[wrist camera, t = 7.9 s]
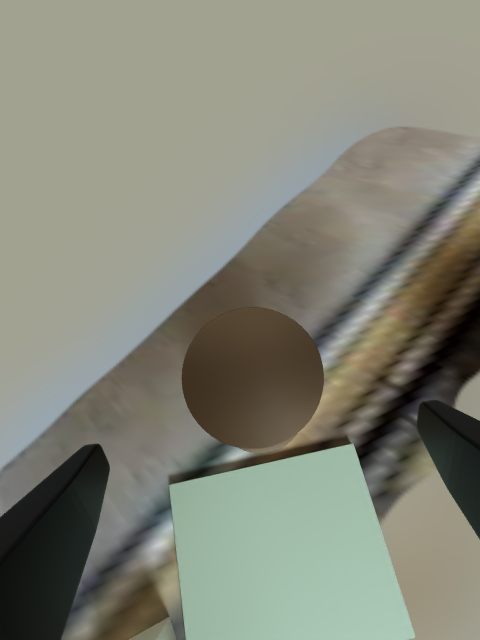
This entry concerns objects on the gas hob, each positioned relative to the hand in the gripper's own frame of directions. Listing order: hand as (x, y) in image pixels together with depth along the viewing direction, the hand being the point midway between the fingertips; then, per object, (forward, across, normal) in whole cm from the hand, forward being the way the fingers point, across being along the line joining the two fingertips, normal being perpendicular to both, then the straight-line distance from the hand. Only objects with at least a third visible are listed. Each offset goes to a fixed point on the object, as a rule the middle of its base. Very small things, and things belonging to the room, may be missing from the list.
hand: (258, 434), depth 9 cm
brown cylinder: (+8, 0, +5) cm, 9 cm away
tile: (+3, 0, +10) cm, 11 cm away
